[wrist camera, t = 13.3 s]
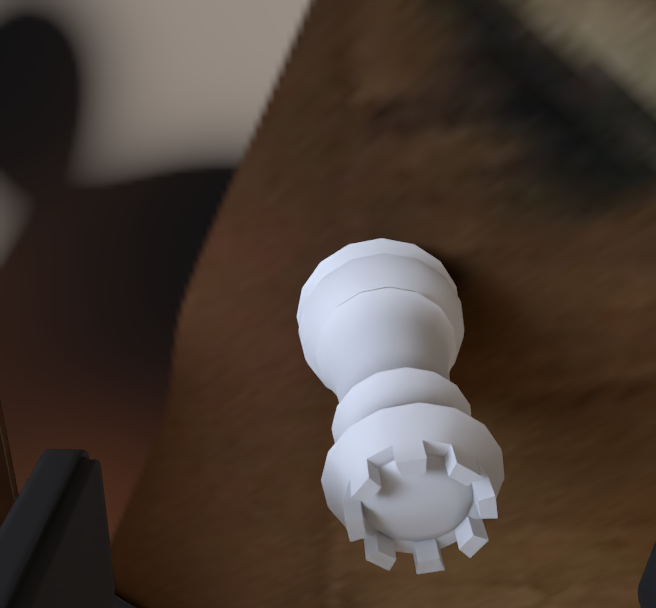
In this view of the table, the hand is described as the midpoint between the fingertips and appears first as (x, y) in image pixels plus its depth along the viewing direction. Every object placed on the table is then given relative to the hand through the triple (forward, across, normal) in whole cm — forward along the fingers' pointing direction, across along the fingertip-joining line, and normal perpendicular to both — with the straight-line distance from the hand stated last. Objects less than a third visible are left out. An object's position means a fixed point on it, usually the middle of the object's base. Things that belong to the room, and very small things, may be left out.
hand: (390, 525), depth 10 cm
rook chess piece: (+8, -1, 0) cm, 8 cm away
